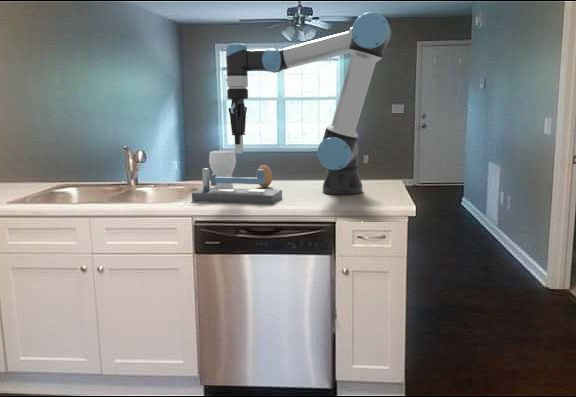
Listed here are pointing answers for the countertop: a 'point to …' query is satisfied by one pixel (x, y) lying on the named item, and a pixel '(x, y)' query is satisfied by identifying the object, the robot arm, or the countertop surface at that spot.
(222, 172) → the cup
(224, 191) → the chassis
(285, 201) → the countertop surface
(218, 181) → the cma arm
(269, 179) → the egg
